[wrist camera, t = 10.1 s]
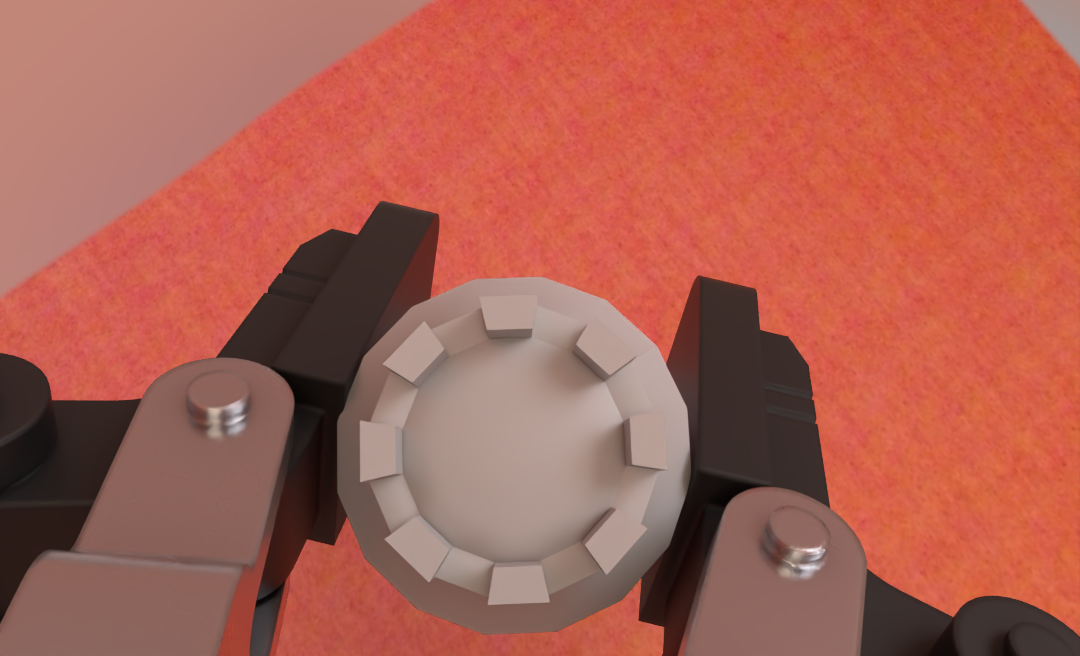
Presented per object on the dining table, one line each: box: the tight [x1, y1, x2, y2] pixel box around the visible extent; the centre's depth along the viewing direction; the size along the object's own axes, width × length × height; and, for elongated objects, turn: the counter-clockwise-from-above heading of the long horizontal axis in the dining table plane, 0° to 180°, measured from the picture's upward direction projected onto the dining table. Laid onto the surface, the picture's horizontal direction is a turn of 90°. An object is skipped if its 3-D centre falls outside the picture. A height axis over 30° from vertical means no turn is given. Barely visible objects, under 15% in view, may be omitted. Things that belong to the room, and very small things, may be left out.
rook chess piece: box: [337, 277, 691, 635], centre depth 11 cm, size 4×4×8 cm
